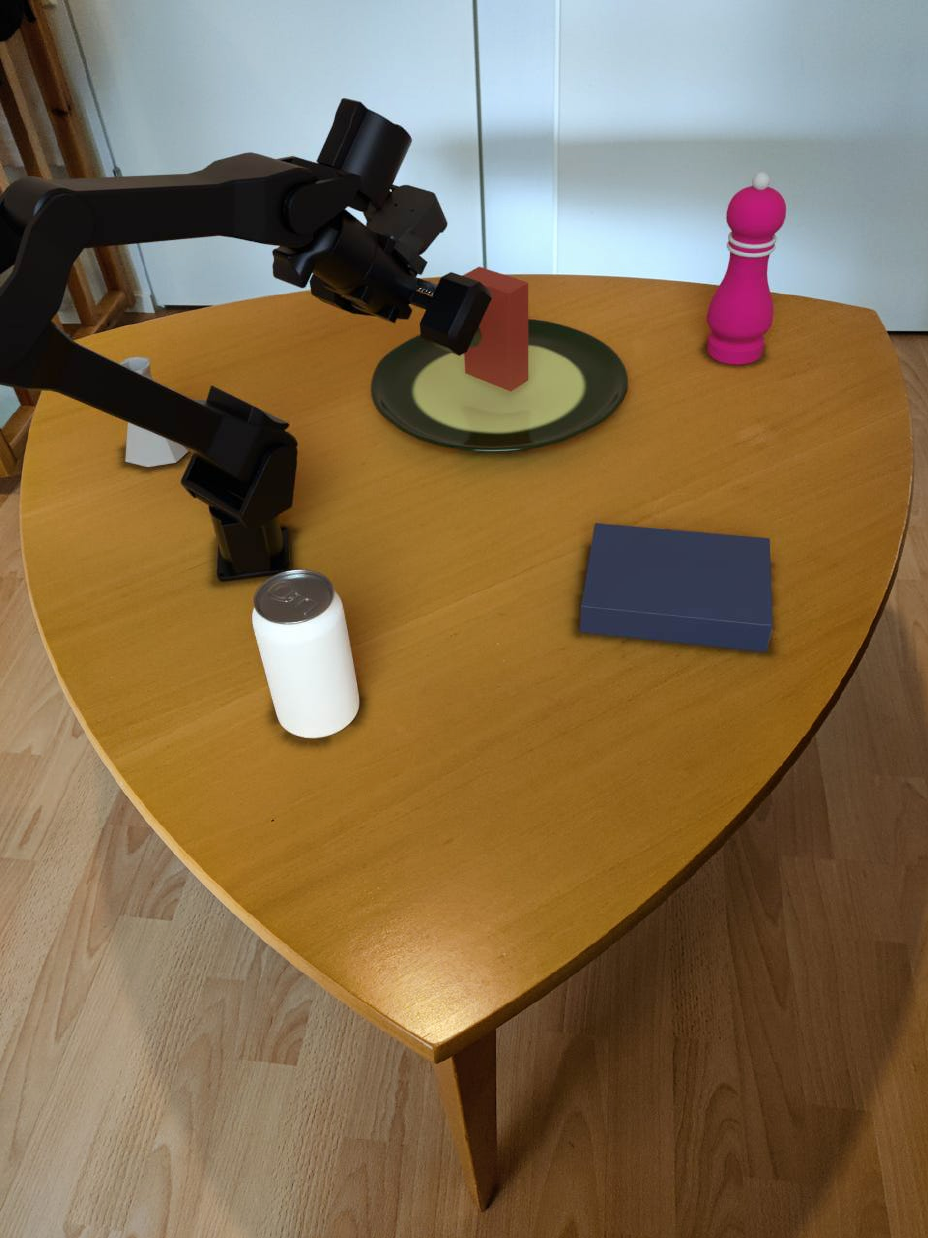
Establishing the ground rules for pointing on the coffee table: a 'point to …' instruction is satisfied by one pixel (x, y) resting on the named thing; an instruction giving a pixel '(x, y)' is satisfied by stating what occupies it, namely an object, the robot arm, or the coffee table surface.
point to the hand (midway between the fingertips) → (443, 327)
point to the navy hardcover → (678, 587)
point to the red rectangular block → (501, 332)
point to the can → (306, 653)
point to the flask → (148, 432)
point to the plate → (501, 393)
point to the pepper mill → (746, 275)
